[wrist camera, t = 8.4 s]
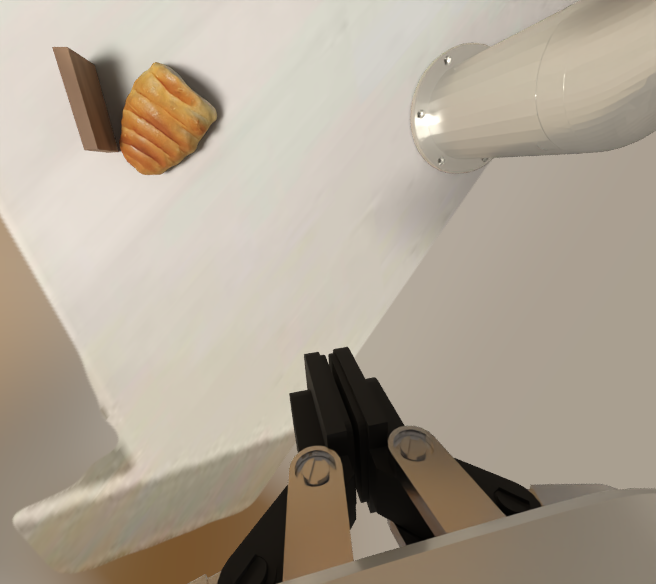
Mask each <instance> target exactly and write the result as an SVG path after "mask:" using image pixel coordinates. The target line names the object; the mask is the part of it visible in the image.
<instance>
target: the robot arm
mask: <svg viewBox="0 0 656 584" xmlns="http://www.w3.org/2000/svg"><path fill="white" fill-rule="evenodd" d="M444 61H445V63H444ZM417 113H418V114H419V117H418V116H417ZM410 121H411V131H412V135H413V139H414V142H415V145H416V147H417V149H418V151H419V153H420V154H421V155H422V157H423V158H424V159H425V161H427V162H428V163H429V164H430V165H431V166H432V167H434V168H436V169H438V170H440V171H443V172H447V173H455V174H459V173H468V172H471V171H475V170H477V169H479V168H481V167H483V166H485V165H486V164H487V163H488V162H490V161H491V160H492V159H493V158H496V157H497V158H498V157H518V156H539V155H558V154H579V153H593V152H603V151H609V150H614V149H618V148H621V147H624V146H627V145H629V144H632V143H634V142H637V141H639V140H640V139H643V138H644V137H646V136H648V135H649V134H651V133H653V132H654V131H656V0H580V1H578V2H576V3H574V4H572V5H570V6H568V7H567V8H565V9H563V10H561V11H559V12H557V13H555V14H553V15H551V16H549V17H547V18H546V19H544V20H542V21H540V22H538V23H536V24H534V25H532V26H530V27H528V28H526V29H524V30H522V31H520V32H519V33H517V34H515V35H513V36H511V37H509V38H507V39H505V40H503V41H501V42H499V43H497V44H495V45H493V46H491V47H489V46H487V45H484V44H479V43H466V44H461V45H459V46H456V47H453V48H451V49H449V50H448V51H446V52H444V53H443V54H441V55H440V56H439V57H438V58H437V59H435V60H434V61H433V62H432V63H431V64H430V66H429V67H428V68H427V69H426V70H425V72H424V74H423V75H422V77H421V79H420V80H419V82H418V85H417V87H416V90H415V92H414V96H413V100H412V105H411V115H410ZM438 159H439V163H438ZM304 361H305V370H306V380H307V389H308V390H305V391H299V392H294V393H289V394H290V403H291V410H292V417H293V425H294V431H295V438H296V444H297V451H298V454H297V455H295V456H294V458H293V460H292V461H291V463H290V468H289V479H288V485H287V486H286V487H285V489H284V490H283V491H282V492H281V494H280V495H279V496H278V498H277V499H276V500H275V501H274V503H273V504H272V505H271V507H270V508H269V509H268V510H267V512H266V513H265V514H264V515H263V516H262V518H261V519H260V520H259V521H258V523H257V524H256V525H255V526H254V528H253V529H252V530H251V531H250V533H249V534H248V535H247V537H246V538H245V539H244V540H243V542H242V543H241V544H240V545H239V547H238V548H237V549H236V550H235V552H234V553H233V554H232V555H231V557H230V558H229V559H228V561H227V562H226V564H225V565H224V567H223V569H222V570H221V572H219V573H217V574H215V575H213V576H211V577H210V578H208V579H207V576H206V574H205V575H203V576H201V577H200V578H198V579H196V580H194V581H192V582H190V583H188V584H656V489H655V488H651V489H650V488H649V489H648V488H629V489H616V488H613V487H611V486H608V485H603V484H547V485H546V484H545V485H531V486H530V489H526V488H524V487H523V486H521V485H519V484H517V483H515V482H513V481H510V480H508V479H506V478H503V477H500V476H498V475H496V474H493V473H491V472H488V471H485V470H483V469H481V468H478V467H476V466H473V465H471V464H468V463H466V462H463V461H461V460H458V459H456V458H453V457H452V456H451V455H450V454H449V452H448V451H447V450H446V449H445V448H444V447H443V446H442V444H441V443H440V442H439V441H438V440H437V439H436V438H435V437H434V436H433V435H432V434H431V433H430V432H429V431H427V430H425V429H423V428H420V427H417V426H404V424H403V423H402V421H401V419H400V417H399V416H398V414H397V412H396V410H395V409H394V407H393V405H392V404H391V402H390V400H389V399H388V397H387V395H386V393H385V392H384V391H383V388H382V387H381V385H380V383H379V382H378V380H377V379H376V378H368V379H365V378H364V376H363V374H362V372H361V370H360V369H359V367H358V365H357V363H356V361H355V359H354V357H353V355H352V353H351V351H350V349H349V348H348V347H344V348H338V349H334V350H333V353H331V354H329V364H328V362H327V359H326V356H325V355H320V354H319V352H314V353H309V354H304ZM356 490H357V492H358V496H359V499H360V501H361V503H363V502H367V504H368V507H369V510H370V513H374V512H377V513H378V514H380V515H382V516H383V517H385V518H387V521H388V525H389V527H390V530H391V532H392V534H393V535H394V537H395V539H396V541H397V543H398V545H399V547H400V548H396V549H393V550H389V551H386V552H383V553H379V554H376V555H372V556H369V557H365V558H362V559H359V560H355V561H354V559H353V551H352V542H351V534H350V529H351V528H352V526H353V524H354V522H355V520H356Z"/></svg>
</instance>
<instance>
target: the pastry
mask: <svg viewBox="0 0 656 584" xmlns="http://www.w3.org/2000/svg"><path fill="white" fill-rule="evenodd" d="M216 119H217V113H216V110H215V108H214V107H213V106H212V105H211V104H210V103H209V102H208V101H207V100H205V99H204V98H202V97H201V96H200V95H198V94H197V93H196V92H195V91H193V90H192V89H191V88H190V87H189V86H188V85H187V84H186V83H185V82H184V81H183V79H182V78H181V76H180V75H179V74H177V73H176V72H175V71H174V70H173V69H171V68H170V67H168V66H166V65H164V64H160V63H157V62H155V63H153V64H152V66H151V67H150V68H149V69H148V70H147V71H145V72H144V73H143V74H142V75H141V76H140V77H139V78H138V79H137V80H136V81H135V82H134V85H133V87H132V90H131V92H130V94H129V95H128V97H127V99H126V104H125V106H124V109H123V118H122V121H121V124H122V128H121V130H122V132H121V138H120V140H119V144H120V149H121V151H122V153H123V155H124V157H125V159H126V160H127V162H129V163H130V164H131V165H132V166H133V167H134V168H136V170H137V171H138V172H140V173H141V174H144V175H160V174H162V173H164V172H165V171H166V170H167V169H169V168H170V167H172V166H175V165H177V164H179V163H180V162H181V161H182V160H183V159H184V158H185V157H186V156H187V155H189V154H191V153H193V152H194V151H195V150H196V149H197V145H198V142H199V141H200V140H201V139H202V137H203V135H204V134H205V133H206V132H207V130H208V128H209V127H210V125H211V124H212V123H213V122H214V121H216Z"/></svg>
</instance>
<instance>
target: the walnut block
mask: <svg viewBox="0 0 656 584" xmlns="http://www.w3.org/2000/svg"><path fill="white" fill-rule="evenodd" d="M52 48H53V51H54V54H55V57H56V60H57V64H58V67H59V70H60V73H61V76H62V80H63V83H64V86H65V89H66V92H67V96H68V99H69V102H70V105H71V108H72V112H73V115H74V118H75V121H76V124H77V128H78V131H79V134H80V137H81V141H82V144H83V147H84V150H89V151H98V152H106V153H109V152H119V151H118V148H117V144H116V140H115V137H114V133H113V130H112V126H111V122H110V119H109V115H108V112H107V108H106V104H105V101H104V97H103V94H102V90H101V86H100V83H99V79H98V75H97V72H96V68H95V65H94V64H92V63H91V62H89V61H88V60H86V59H85V58H83V57H82V56H80V55H79V54H77V53H76V52H74V51H73V50H71V49H69V48H68V47H52Z"/></svg>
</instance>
